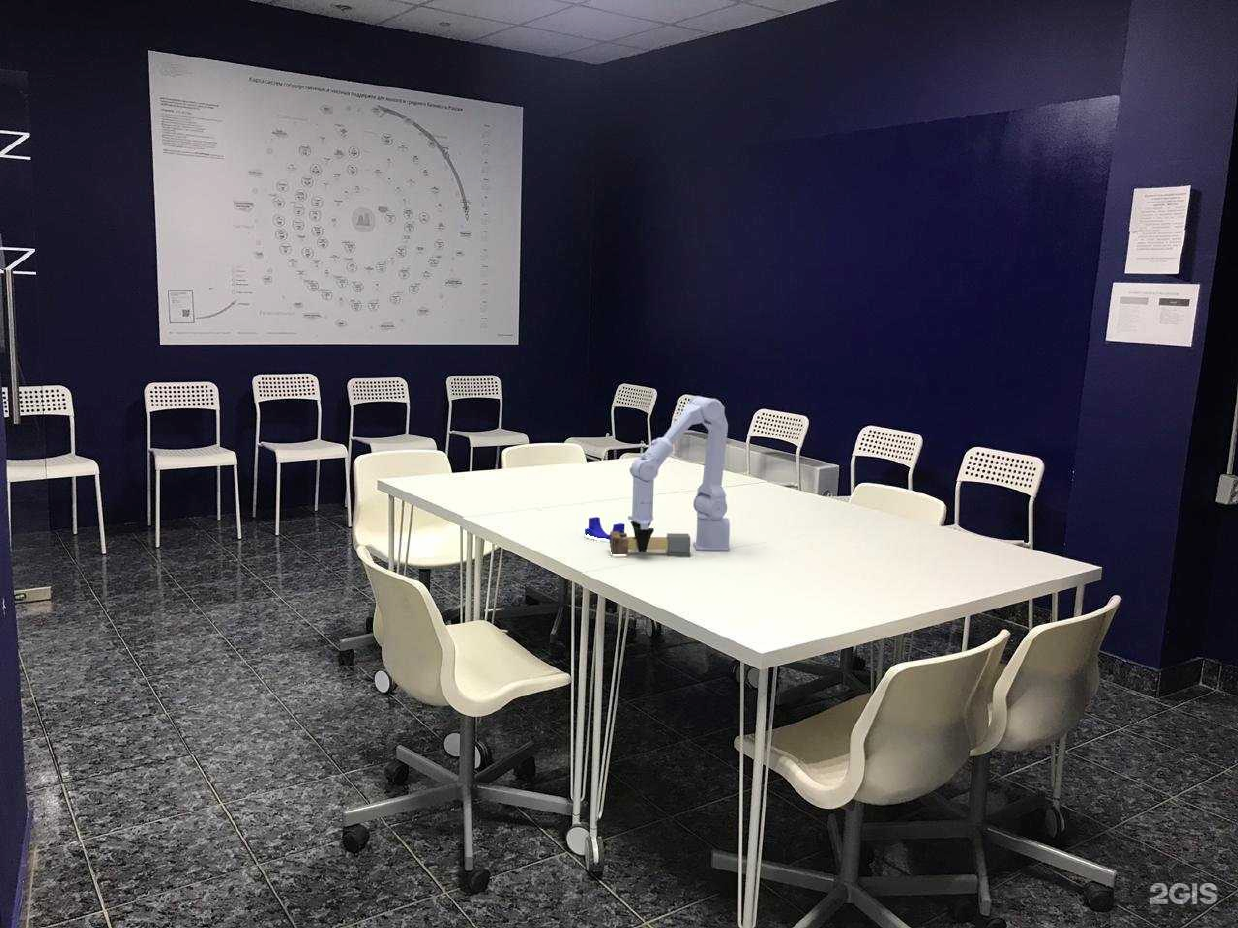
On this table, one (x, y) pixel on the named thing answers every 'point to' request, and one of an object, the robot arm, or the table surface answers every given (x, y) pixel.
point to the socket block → (618, 543)
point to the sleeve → (679, 545)
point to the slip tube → (650, 543)
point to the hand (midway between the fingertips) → (641, 548)
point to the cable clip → (597, 530)
